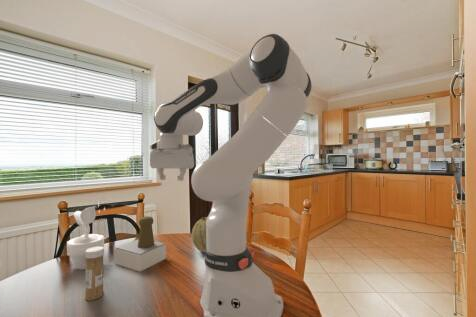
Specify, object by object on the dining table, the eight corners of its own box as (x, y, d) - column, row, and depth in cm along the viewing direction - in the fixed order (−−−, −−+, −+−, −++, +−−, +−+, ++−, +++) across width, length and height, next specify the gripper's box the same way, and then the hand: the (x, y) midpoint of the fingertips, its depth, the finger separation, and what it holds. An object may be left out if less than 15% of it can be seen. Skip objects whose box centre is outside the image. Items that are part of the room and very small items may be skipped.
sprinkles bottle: (104, 297, 63) (104, 249, 64) (85, 303, 61) (85, 253, 61) (103, 289, 67) (103, 244, 67) (84, 295, 64) (84, 248, 65)
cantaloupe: (233, 249, 98) (232, 215, 98) (210, 261, 86) (209, 222, 86) (208, 242, 106) (208, 210, 107) (184, 252, 94) (184, 217, 95)
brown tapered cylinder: (148, 249, 83) (148, 219, 83) (134, 247, 84) (134, 218, 85) (157, 243, 89) (157, 215, 89) (144, 242, 90) (144, 214, 91)
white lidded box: (165, 258, 89) (165, 243, 89) (139, 271, 78) (139, 254, 78) (141, 252, 95) (141, 238, 95) (114, 263, 85) (114, 247, 85)
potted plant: (110, 264, 84) (110, 197, 84) (73, 277, 75) (73, 201, 75) (95, 256, 91) (95, 194, 92) (60, 267, 82) (61, 198, 83)
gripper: (197, 144, 86) (197, 180, 86) (159, 146, 96) (159, 178, 95) (186, 143, 81) (186, 181, 80) (147, 145, 90) (146, 179, 90)
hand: (171, 180), depth 88 cm, fingers open, 8 cm apart
